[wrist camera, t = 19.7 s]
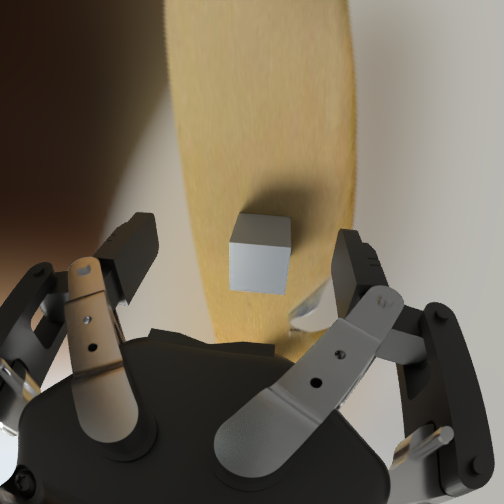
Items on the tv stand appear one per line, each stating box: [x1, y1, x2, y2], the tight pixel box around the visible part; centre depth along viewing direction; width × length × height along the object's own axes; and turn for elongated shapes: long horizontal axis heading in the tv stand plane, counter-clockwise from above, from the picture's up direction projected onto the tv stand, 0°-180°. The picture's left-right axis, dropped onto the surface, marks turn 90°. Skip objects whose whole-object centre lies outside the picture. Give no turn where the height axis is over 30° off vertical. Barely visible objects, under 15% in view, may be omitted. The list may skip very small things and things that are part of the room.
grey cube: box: [229, 213, 291, 295], centre depth 36 cm, size 7×7×7 cm
